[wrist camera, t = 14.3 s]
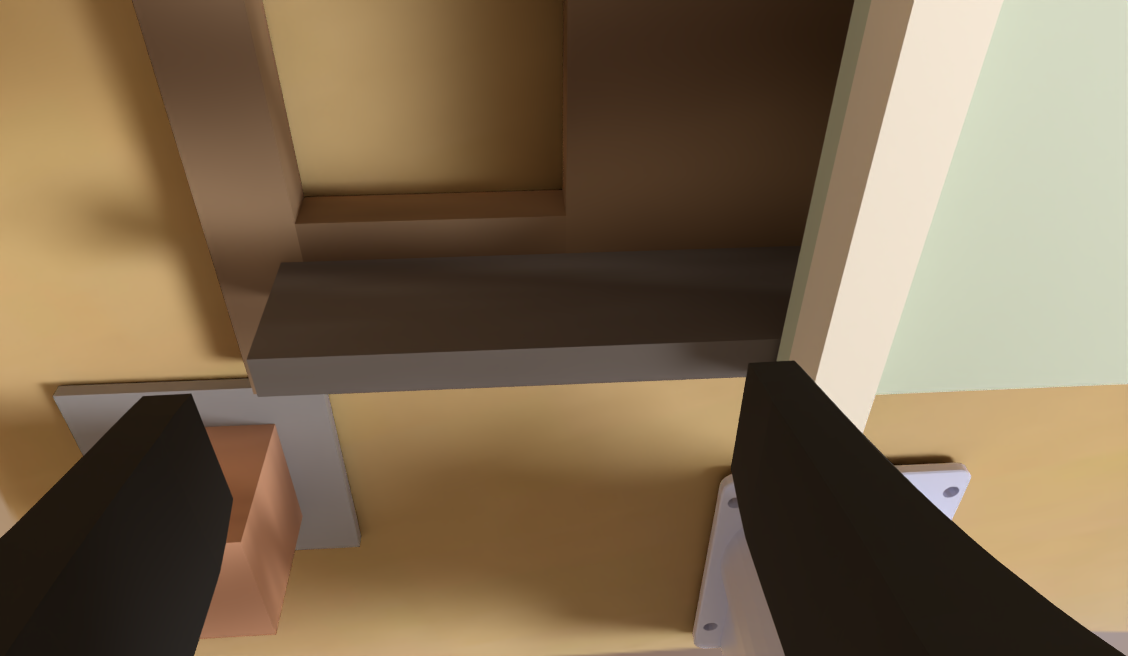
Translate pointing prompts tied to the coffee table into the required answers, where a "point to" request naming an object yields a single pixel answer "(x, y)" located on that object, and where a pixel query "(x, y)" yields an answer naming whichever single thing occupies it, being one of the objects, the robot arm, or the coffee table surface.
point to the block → (253, 532)
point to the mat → (234, 404)
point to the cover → (969, 203)
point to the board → (521, 208)
